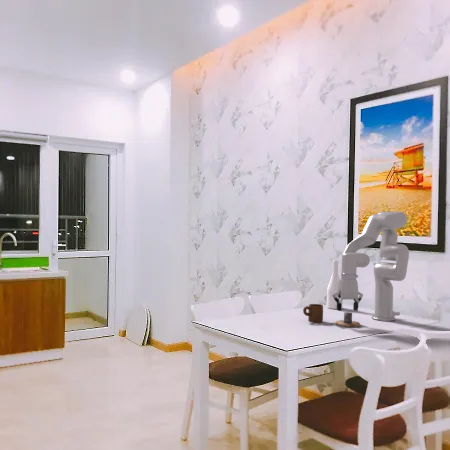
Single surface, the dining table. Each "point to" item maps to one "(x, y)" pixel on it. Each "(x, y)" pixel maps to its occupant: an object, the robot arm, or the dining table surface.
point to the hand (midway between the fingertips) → (347, 310)
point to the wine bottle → (333, 287)
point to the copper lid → (347, 321)
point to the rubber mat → (348, 327)
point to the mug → (314, 313)
